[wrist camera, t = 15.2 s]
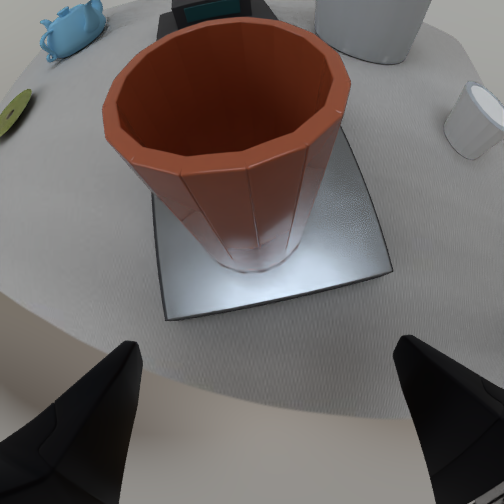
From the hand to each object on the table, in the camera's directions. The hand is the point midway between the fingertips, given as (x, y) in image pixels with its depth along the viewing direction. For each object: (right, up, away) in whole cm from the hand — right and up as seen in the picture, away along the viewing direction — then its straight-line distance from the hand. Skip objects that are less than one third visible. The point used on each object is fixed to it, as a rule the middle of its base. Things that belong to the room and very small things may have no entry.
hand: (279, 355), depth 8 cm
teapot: (-35, +47, +25) cm, 63 cm away
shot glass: (+23, +16, +14) cm, 32 cm away
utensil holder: (+15, +33, +19) cm, 41 cm away
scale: (-3, +21, +17) cm, 27 cm away
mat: (-43, +27, +21) cm, 55 cm away
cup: (-1, +5, +10) cm, 11 cm away
